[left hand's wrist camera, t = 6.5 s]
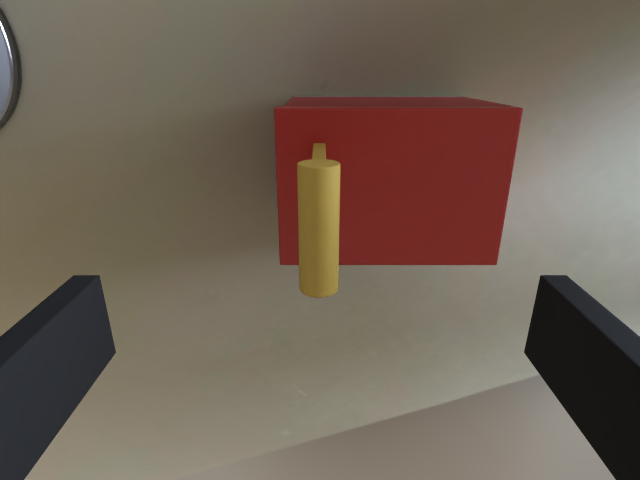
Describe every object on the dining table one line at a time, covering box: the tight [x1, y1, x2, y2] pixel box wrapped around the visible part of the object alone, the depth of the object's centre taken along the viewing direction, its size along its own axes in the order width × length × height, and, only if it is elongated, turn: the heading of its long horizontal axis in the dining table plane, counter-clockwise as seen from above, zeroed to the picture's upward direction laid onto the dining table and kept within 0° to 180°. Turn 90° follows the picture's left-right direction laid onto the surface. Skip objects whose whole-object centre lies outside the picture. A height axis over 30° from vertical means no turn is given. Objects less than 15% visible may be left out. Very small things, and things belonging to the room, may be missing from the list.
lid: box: [274, 106, 523, 298], centre depth 23 cm, size 14×10×9 cm
